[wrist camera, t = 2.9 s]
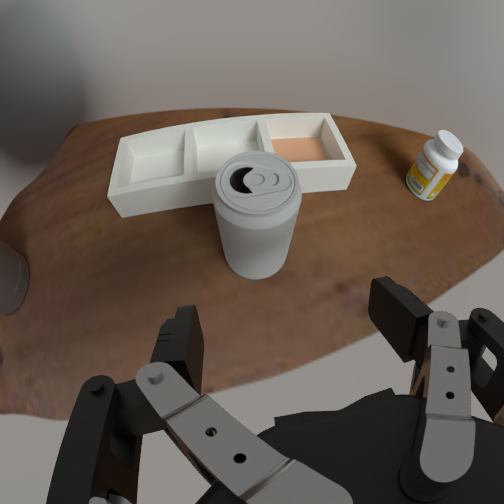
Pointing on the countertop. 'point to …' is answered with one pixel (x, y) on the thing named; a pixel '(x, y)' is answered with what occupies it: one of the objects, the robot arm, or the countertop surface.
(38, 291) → the countertop surface
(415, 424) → the robot arm
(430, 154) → the supplement bottle
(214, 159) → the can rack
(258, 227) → the beverage can
